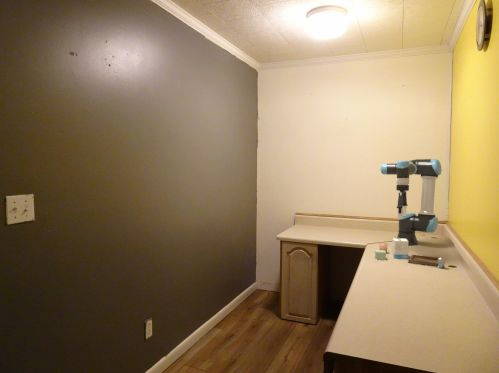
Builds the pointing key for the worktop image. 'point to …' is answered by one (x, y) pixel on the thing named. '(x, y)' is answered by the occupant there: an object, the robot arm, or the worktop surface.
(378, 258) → the sage block
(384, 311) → the worktop surface
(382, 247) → the terracotta cup
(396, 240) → the ink box
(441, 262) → the grey peg
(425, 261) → the tray
